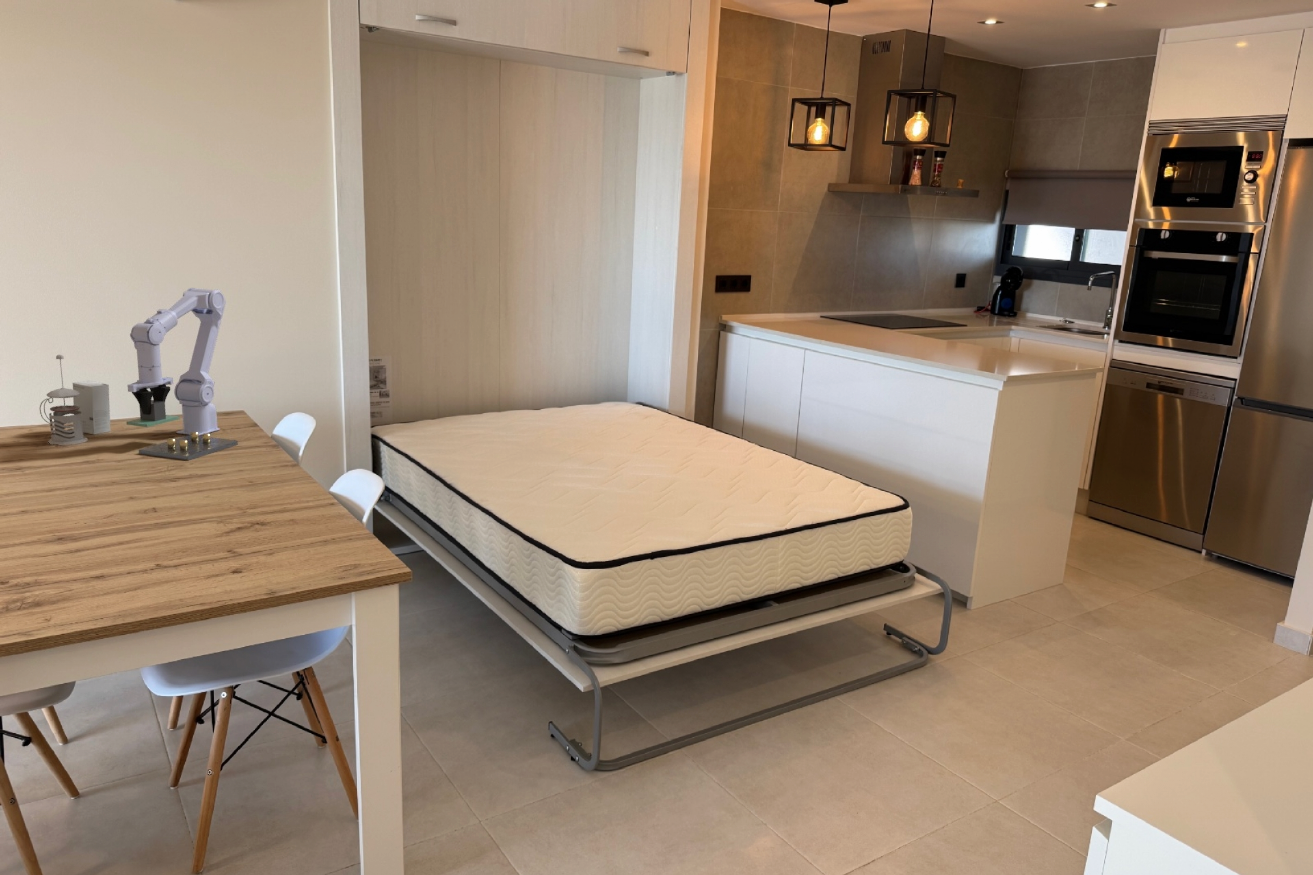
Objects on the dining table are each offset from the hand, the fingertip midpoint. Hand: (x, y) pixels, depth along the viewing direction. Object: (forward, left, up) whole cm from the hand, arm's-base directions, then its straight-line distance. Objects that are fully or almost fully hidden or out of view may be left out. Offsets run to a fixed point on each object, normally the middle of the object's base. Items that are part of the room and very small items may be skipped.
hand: (153, 412), depth 257 cm
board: (0, 0, -3) cm, 3 cm away
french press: (+7, -24, -10) cm, 27 cm away
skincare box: (-5, -26, -10) cm, 28 cm away
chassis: (0, +12, -9) cm, 15 cm away
